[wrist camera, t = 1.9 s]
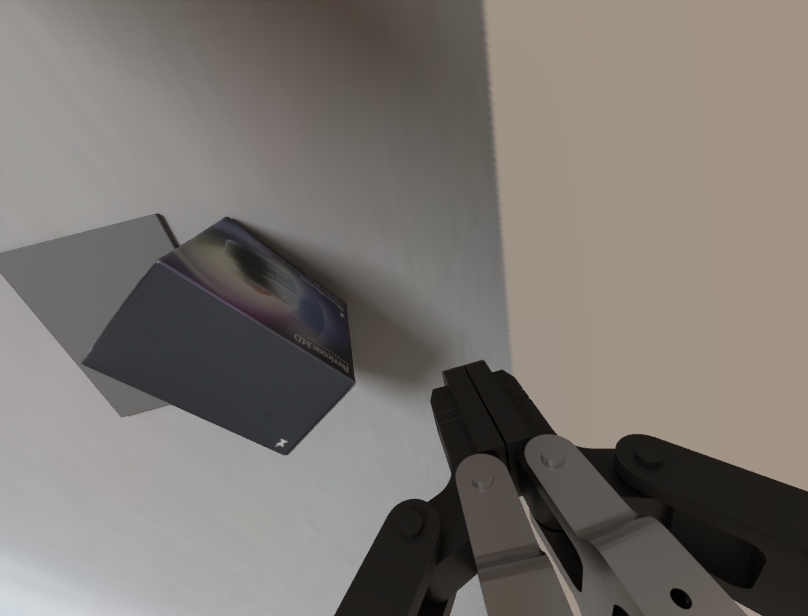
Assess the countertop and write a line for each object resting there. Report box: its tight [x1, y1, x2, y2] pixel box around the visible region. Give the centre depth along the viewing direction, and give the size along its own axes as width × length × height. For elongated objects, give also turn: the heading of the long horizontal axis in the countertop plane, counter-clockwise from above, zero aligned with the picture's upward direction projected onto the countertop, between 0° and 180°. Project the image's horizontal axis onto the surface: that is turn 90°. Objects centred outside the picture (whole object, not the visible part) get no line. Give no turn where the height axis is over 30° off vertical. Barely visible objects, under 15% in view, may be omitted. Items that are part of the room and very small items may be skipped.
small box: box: [81, 217, 356, 455], centre depth 20 cm, size 11×6×10 cm, turn 46°
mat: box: [0, 213, 176, 417], centre depth 25 cm, size 14×10×1 cm
